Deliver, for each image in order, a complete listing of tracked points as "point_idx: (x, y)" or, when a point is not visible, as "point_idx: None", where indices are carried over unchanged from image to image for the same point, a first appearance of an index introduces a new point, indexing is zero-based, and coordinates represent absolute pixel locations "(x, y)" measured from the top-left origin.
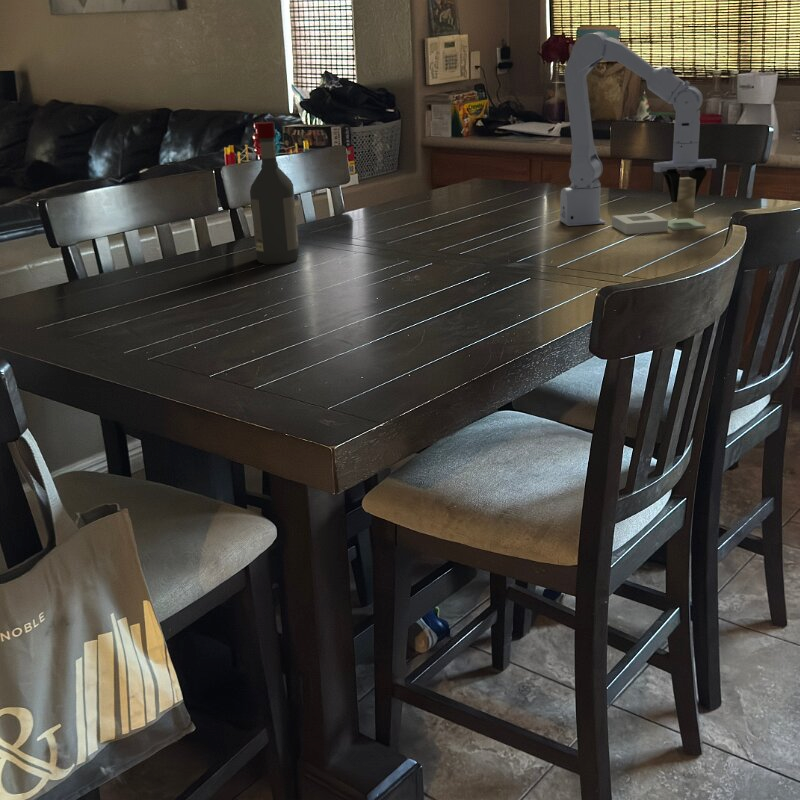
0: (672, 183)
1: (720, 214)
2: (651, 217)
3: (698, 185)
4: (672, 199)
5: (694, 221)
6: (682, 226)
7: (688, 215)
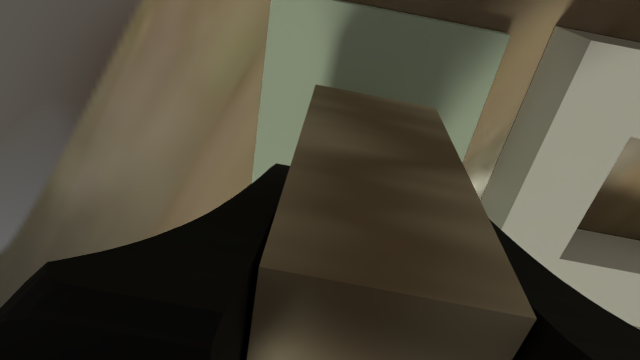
0: (619, 319)
1: (47, 242)
2: (587, 194)
3: (226, 217)
4: None
5: (269, 137)
6: (422, 48)
7: (356, 99)
